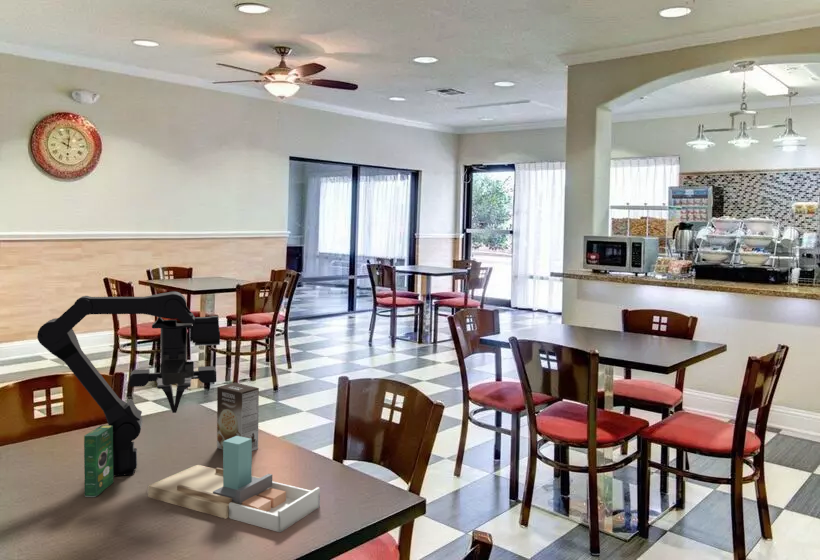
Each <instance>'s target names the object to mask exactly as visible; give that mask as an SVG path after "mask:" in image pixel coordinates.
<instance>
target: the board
mask: <svg viewBox="0 0 820 560" xmlns="http://www.w3.org/2000/svg"><path fill="white" fill-rule="evenodd" d="M252 477H256V478H261V477H260V476H255V475H252ZM221 487H223V468H222V467H216V468H214V467H208V466H204V465H201V464H195V465H193V466H191V467H189V468H186V469H183V470H182V471H179V472H177V473H175V474H172V475H170V476H167V477H164V478H163V479H161V480H158V481H156V482H153V483H151V484H149V485H148V487H147V489H148V491H147V495H148V498H150V499H153V500H157V501H160V502H165V503H168V504H172V505H175V506H179V507H182V508H185V509H190V510H192V511H196V512H200V513H203V514H207V515H211V516H214V517H218V518H220V519H225V520H226V519H229V503H231V502H232V498H229V497H225V496H221V495H217V494H213V491H215V490H217V489H219V488H221ZM232 503H236V502H232ZM236 504H238V503H236Z"/></svg>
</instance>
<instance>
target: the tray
mask: <svg viewBox="0 0 820 560" xmlns="http://www.w3.org/2000/svg"><path fill="white" fill-rule="evenodd" d="M270 488H273V489H277V490H282V491H286V501H285V502H283V503H281V504H280V505H278V506H276V507H275V508H271V509H270V511H268V512H266V511H263V510H259V509H255V508H251V507H247V506H244V505H242V503H238V504H236V503H232V502H231V503H229V517H228V519H231V520H235V521H238V522H240V523H241V522H242V523H244V524H249V525H252V526H256V527H259V528H262V529H263V528H264V529H267V530H271V531H274V532H278V533H282V532H283V531H285V530H286V529H288V528H289V527H291V526H292V525H294V524H296V523H297V522H298V521H301V519H303V518H304V517H307V516H308V515H309V514H311V513H312V512H314V511H315V510H317V509H318V508H320V503H321V501H320V500H321V496H320V495H321V488H320V487H319V486H316V487H315V488H314V489H312V490H311V489H306V488H302V487H298V486H294V485H290V484H285V483H282V482H277V481H273V480H272V487H270ZM268 489H269V488H268ZM266 490H267V489H266ZM264 491H265V490H264ZM262 492H263V491H262ZM262 492H261V493H262ZM259 494H260V493H259ZM256 496H258V494H257V495H256Z"/></svg>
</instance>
